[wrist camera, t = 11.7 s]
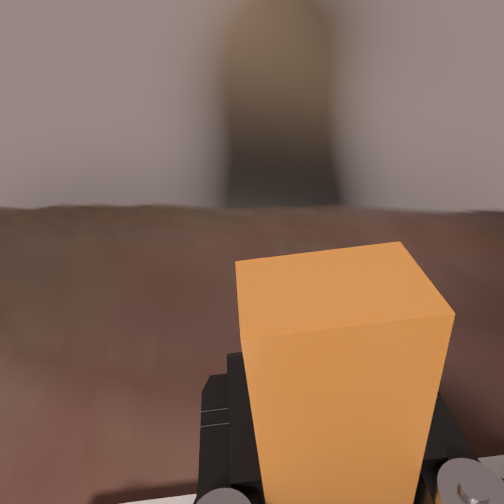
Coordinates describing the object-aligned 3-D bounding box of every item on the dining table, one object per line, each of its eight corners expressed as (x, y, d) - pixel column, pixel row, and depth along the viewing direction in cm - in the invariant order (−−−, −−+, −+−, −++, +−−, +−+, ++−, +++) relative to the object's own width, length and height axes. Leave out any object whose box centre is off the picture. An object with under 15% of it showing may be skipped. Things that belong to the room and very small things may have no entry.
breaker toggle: (391, 522, 14) (444, 219, 8) (432, 646, 11) (565, 334, 5) (243, 541, 14) (177, 251, 8) (249, 670, 11) (155, 383, 5)
